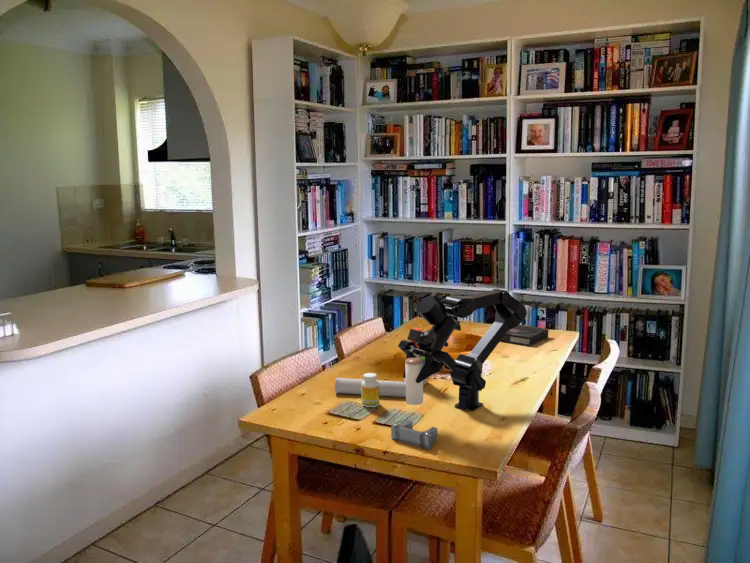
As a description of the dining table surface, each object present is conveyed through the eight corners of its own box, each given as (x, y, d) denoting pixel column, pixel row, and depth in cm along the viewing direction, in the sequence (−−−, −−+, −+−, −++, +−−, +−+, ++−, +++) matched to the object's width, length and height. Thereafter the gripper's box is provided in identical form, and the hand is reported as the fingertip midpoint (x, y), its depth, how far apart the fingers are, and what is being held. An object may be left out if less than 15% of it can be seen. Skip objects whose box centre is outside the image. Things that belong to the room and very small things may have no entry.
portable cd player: (492, 341, 267) (492, 331, 266) (512, 332, 280) (512, 323, 279) (528, 348, 257) (529, 338, 256) (548, 338, 269) (548, 329, 269)
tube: (415, 381, 208) (339, 377, 213) (412, 381, 203) (335, 377, 208) (414, 398, 207) (338, 393, 213) (411, 399, 202) (334, 394, 208)
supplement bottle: (360, 402, 201) (359, 372, 199) (376, 400, 202) (376, 371, 201) (364, 409, 196) (363, 378, 194) (381, 407, 197) (380, 376, 196)
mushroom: (415, 397, 185) (415, 356, 183) (426, 402, 181) (426, 360, 179) (402, 401, 182) (401, 359, 180) (413, 406, 178) (412, 364, 176)
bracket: (404, 431, 179) (404, 417, 179) (441, 441, 172) (441, 427, 171) (391, 438, 175) (391, 424, 174) (428, 449, 167) (428, 435, 167)
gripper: (402, 312, 187) (372, 356, 182) (448, 323, 173) (417, 372, 168) (422, 333, 193) (394, 377, 189) (468, 346, 179) (439, 394, 174)
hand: (410, 380), depth 180 cm, fingers closed on mushroom, 5 cm apart
